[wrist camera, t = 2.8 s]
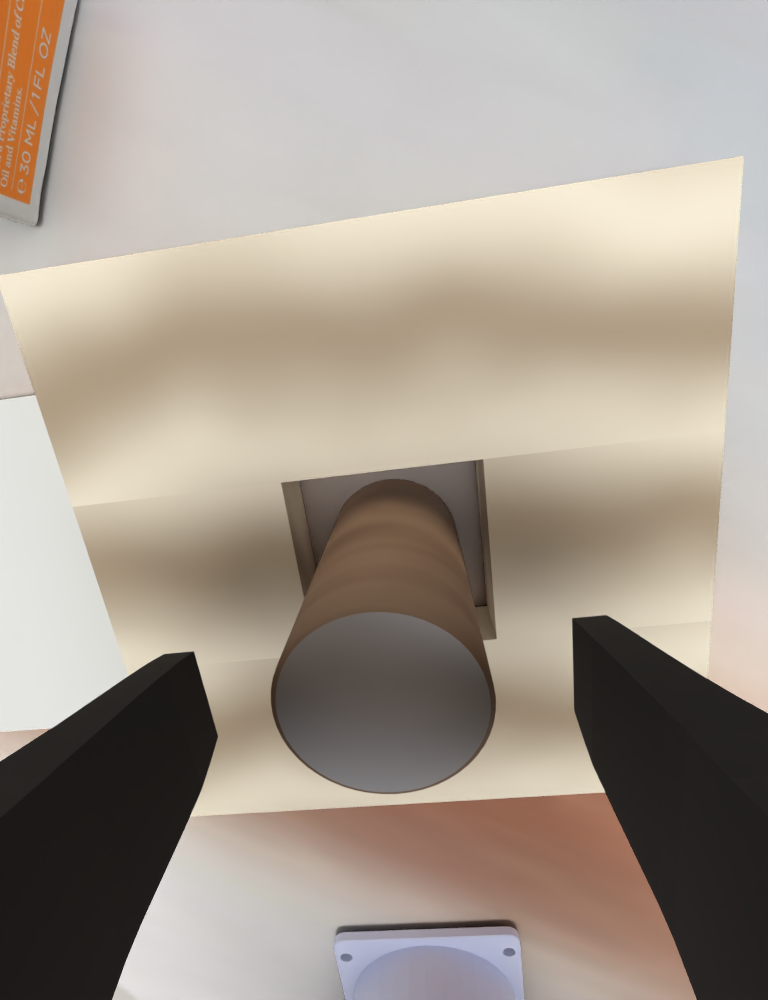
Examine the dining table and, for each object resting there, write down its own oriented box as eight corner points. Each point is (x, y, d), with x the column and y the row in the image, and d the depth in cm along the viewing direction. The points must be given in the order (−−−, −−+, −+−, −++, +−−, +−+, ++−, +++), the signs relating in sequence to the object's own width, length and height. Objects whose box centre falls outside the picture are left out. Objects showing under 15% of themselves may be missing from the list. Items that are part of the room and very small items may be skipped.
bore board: (670, 740, 18) (700, 786, 17) (197, 772, 20) (175, 817, 18) (695, 182, 13) (743, 155, 11) (49, 284, 15) (-5, 275, 13)
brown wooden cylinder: (461, 586, 17) (503, 789, 9) (344, 597, 17) (292, 802, 10) (450, 472, 16) (488, 597, 8) (325, 486, 16) (248, 619, 8)
